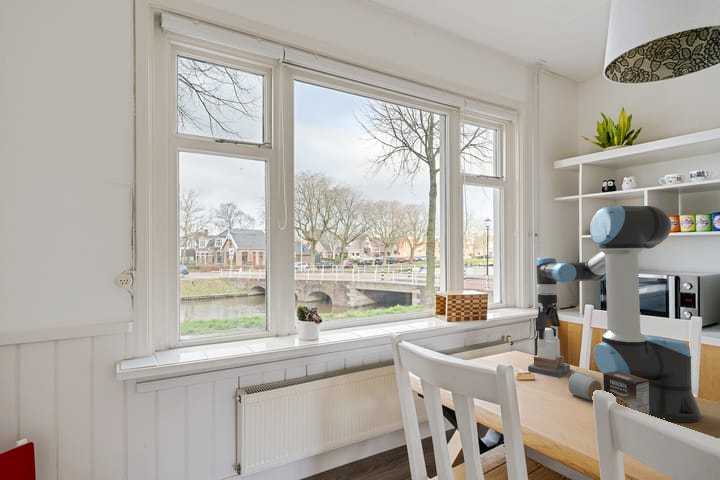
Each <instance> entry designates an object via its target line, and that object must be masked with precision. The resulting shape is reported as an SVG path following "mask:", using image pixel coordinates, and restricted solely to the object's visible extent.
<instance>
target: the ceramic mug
mask: <svg viewBox="0 0 720 480" xmlns="http://www.w3.org/2000/svg"><path fill="white" fill-rule="evenodd" d="M567 383H568V384H567V386H568V391H569V392H570V394H571V395H574V396H577V397H580V398H583V399H585V400H588V401H592V396H593V392H594V391H595V390H602V391H603V389H602V384H601V382H600V381H599V380H598V379H595V378H593V377H590V376H588V375H586V374H585V375H584V374H583V373H580V372H574V373H571V376H570V377H569V379H568V382H567Z"/></svg>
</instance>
